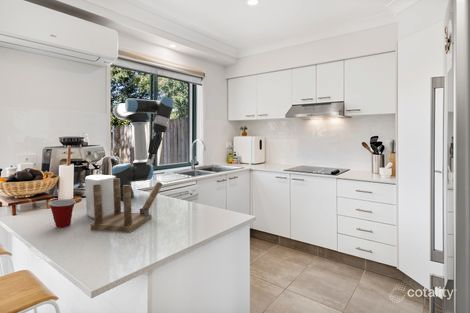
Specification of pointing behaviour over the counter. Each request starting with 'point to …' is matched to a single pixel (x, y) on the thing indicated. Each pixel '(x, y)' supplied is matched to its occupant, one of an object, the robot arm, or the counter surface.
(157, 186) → the folding leg
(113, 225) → the footstool
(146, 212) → the hinge bracket
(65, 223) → the plastic cup
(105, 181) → the white canister
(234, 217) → the counter surface
